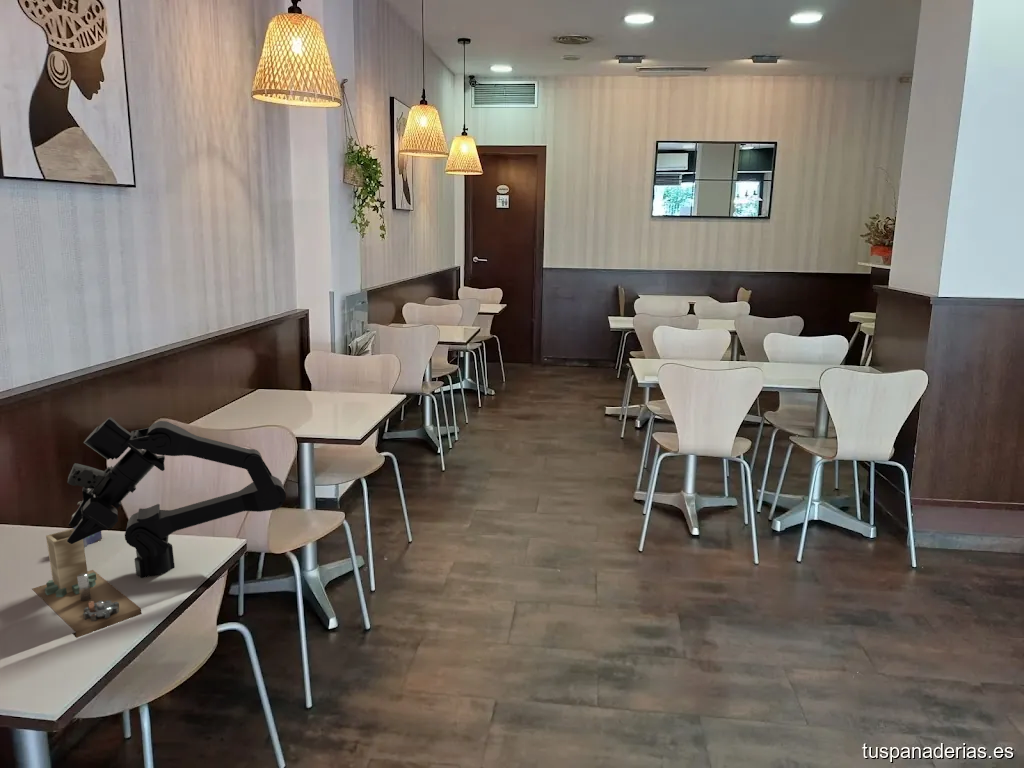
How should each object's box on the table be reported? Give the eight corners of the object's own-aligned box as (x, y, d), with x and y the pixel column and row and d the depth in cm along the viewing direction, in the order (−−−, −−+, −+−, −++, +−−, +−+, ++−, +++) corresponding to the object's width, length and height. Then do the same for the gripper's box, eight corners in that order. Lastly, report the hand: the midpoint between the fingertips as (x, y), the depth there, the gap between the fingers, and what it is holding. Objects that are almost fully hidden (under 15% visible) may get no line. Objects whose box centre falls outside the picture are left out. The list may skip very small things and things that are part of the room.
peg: (89, 595, 148) (85, 572, 147) (92, 598, 147) (89, 574, 146) (79, 599, 147) (75, 575, 146) (82, 602, 146) (79, 578, 145)
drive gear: (112, 602, 146) (110, 588, 145) (124, 612, 142) (122, 598, 141) (78, 613, 142) (76, 600, 141) (90, 624, 138) (88, 610, 137)
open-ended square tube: (87, 572, 159) (80, 522, 157) (103, 585, 153) (96, 534, 151) (39, 587, 152) (31, 536, 150) (54, 601, 146) (46, 548, 144)
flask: (85, 553, 171) (78, 508, 169) (71, 554, 171) (65, 509, 169) (105, 537, 180) (99, 494, 178) (92, 537, 180) (86, 495, 178)
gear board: (93, 575, 160) (92, 569, 160) (141, 614, 143) (140, 608, 143) (32, 594, 152) (32, 588, 152) (76, 637, 135) (75, 631, 135)
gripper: (92, 438, 158) (36, 497, 155) (92, 462, 142) (29, 528, 139) (137, 469, 163) (84, 526, 160) (142, 496, 147) (82, 560, 144)
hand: (69, 534), depth 150 cm, fingers open, 9 cm apart
